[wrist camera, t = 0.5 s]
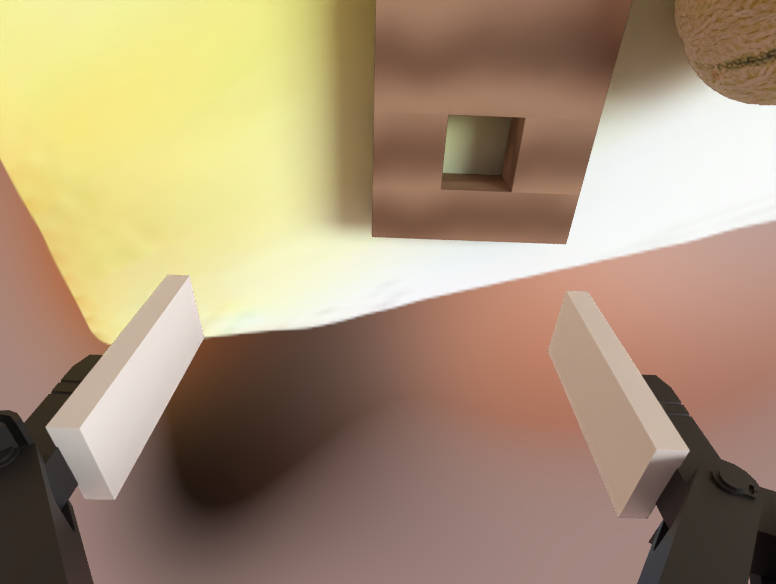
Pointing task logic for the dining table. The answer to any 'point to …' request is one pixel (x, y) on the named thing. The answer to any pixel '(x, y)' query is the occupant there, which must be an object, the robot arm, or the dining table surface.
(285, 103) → the dining table surface
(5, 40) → the dining table surface
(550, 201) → the socket block
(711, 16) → the cantaloupe
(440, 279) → the dining table surface
